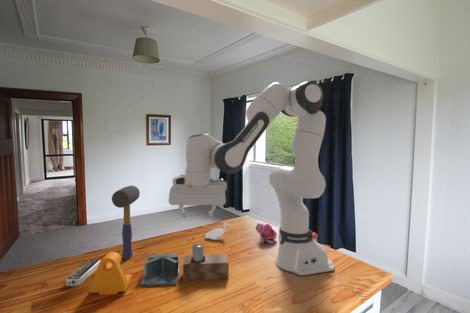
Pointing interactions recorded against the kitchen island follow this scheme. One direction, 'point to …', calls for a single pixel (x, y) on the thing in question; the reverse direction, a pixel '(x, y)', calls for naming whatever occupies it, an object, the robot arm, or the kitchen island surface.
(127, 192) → the rubber mallet
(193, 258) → the steel axle
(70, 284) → the multiport hub
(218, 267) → the walnut beam
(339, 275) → the kitchen island surface
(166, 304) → the kitchen island surface
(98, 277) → the bracket
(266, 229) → the flower
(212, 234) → the figurine
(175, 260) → the V-block
